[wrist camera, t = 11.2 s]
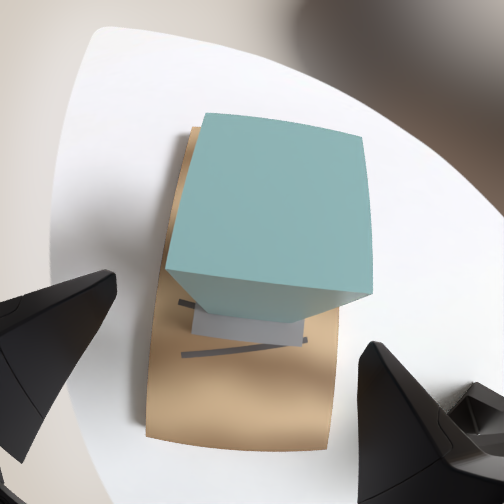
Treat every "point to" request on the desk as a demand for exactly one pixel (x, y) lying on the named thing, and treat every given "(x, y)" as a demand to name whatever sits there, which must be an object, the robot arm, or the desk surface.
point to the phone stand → (481, 418)
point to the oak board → (235, 375)
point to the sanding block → (271, 228)
